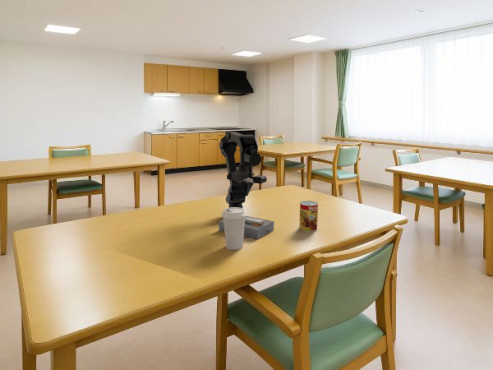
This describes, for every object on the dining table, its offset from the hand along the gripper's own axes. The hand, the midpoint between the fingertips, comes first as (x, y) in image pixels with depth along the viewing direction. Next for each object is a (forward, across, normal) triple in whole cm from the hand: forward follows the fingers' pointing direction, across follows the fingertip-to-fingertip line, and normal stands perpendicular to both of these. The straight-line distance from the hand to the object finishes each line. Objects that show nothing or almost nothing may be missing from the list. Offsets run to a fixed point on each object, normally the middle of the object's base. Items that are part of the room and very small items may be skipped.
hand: (246, 195), depth 171 cm
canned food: (+13, +28, +8) cm, 32 cm away
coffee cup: (+13, +13, -28) cm, 34 cm away
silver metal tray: (+13, +6, -9) cm, 17 cm away
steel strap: (+8, +6, -9) cm, 14 cm away
